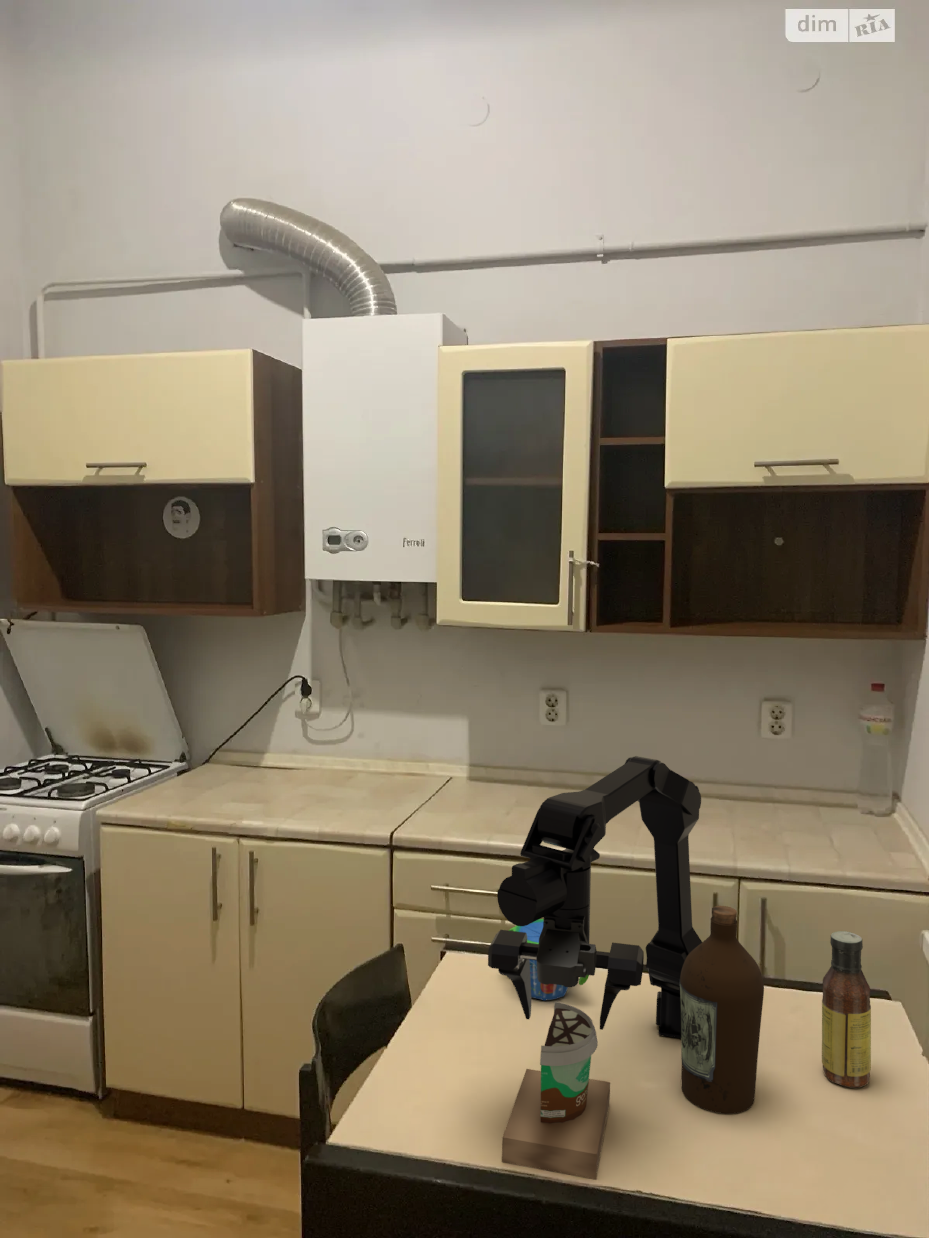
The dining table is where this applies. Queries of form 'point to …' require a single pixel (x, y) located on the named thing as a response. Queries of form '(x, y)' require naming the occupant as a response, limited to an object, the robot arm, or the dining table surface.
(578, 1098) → the food container
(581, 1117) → the base board
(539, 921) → the snack cup
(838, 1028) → the sauce bottle
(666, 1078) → the dining table surface
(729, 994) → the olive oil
